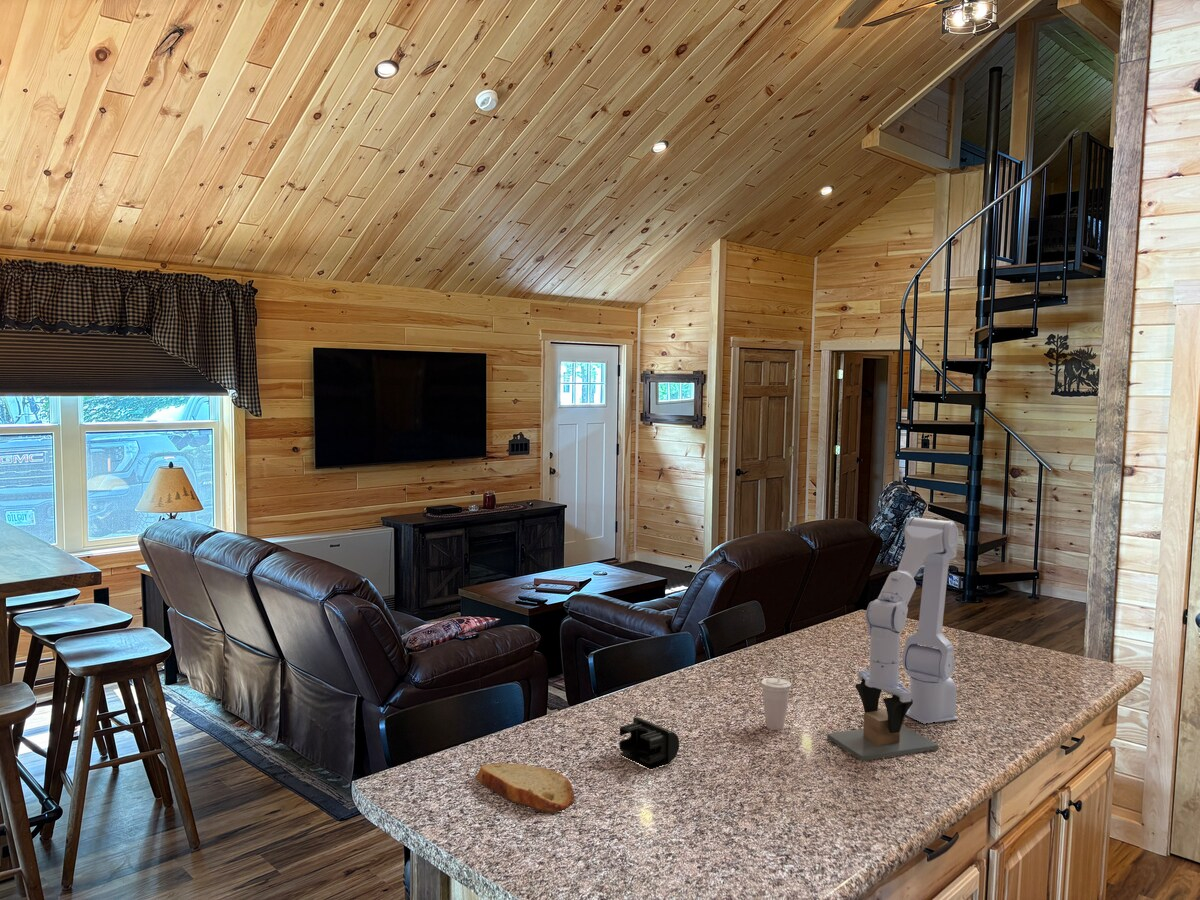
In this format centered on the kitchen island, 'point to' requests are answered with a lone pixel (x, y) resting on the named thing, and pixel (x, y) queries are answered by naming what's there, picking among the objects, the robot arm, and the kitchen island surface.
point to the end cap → (648, 743)
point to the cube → (879, 728)
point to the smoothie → (775, 700)
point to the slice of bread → (528, 786)
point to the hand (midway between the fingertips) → (882, 725)
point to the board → (870, 750)
